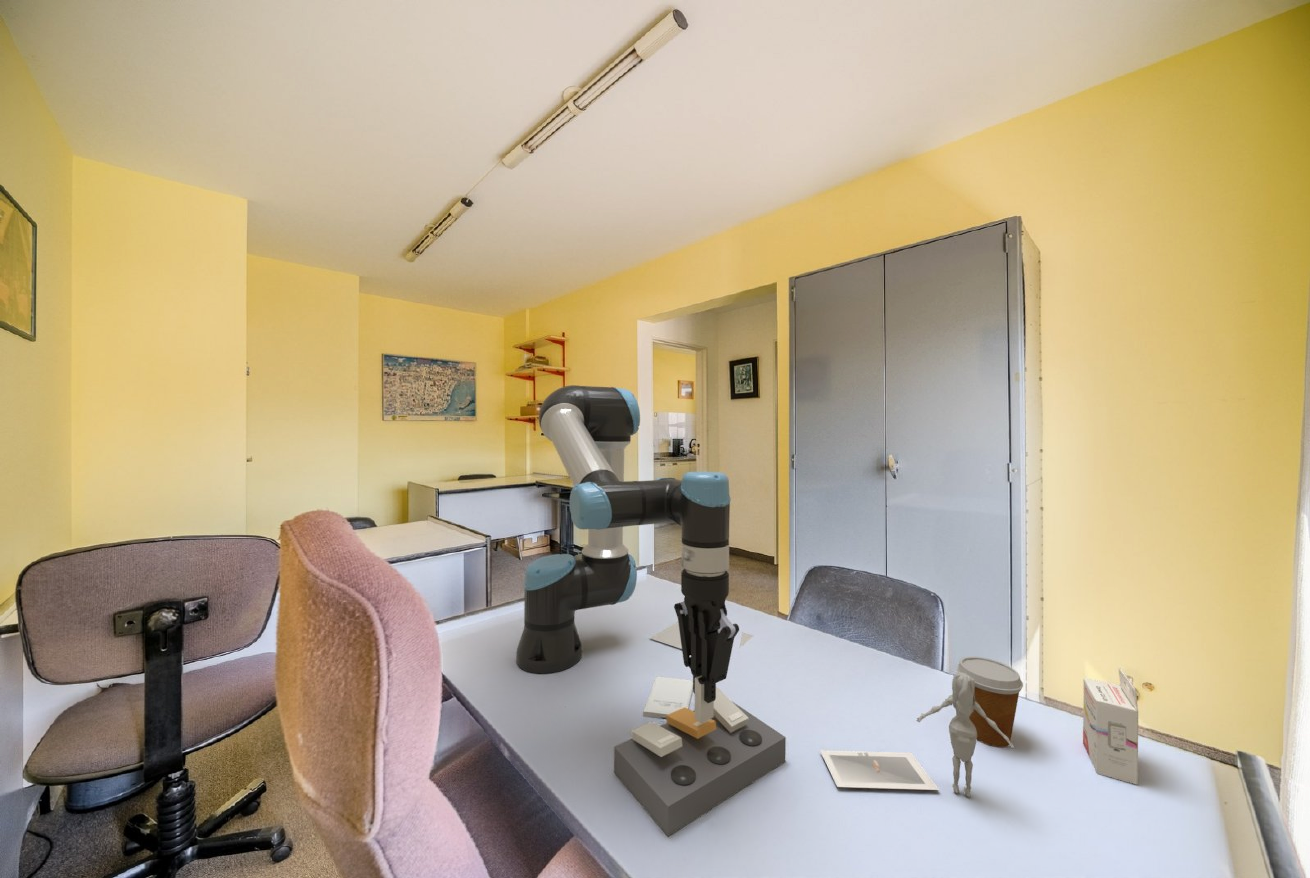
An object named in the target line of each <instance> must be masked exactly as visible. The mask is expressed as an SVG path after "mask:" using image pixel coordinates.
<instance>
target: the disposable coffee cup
mask: <svg viewBox="0 0 1310 878" xmlns="http://www.w3.org/2000/svg"><path fill="white" fill-rule="evenodd" d="M956 671H957V673H958V672H962V673H965V674H967V675H969V676H970V677H971V678H973V679H974V686H975V687H974V695H975V701H976V702H977V703H978V704H979V705H980V707H981V709H982V710H983V711H984V713H985V714H986V717H987V718H989V719H990V720H992V721H994V722H995V723H996V725H997V727H998V729H999V730H1000V731H1001V732H1002V733H1003V734H1004V735H1006V736H1007V737H1008V738H1009V741H1010V742H1011V741H1012V735H1013V734H1012V733H1013V730H1014V729H1013V728H1014V723H1015V717H1016V713H1017V706H1018V701H1019V696H1020V692H1021V690H1022V689H1023V687H1024V682H1023V681H1022V680H1021V677H1020V673H1019V672H1018V671H1017V670H1016V669H1014V668H1013V667H1011V666H1010V665H1007V664H1005V663H1002V662H1000V661H997V660H995V659H994V660H993V659H990V658H988V657H987V658H986V657H981V656H965V657H962V658H960V660H959V663H958V664H957V665H956ZM969 719H970V720H971V722H972V723H973V724H974V726H975V728H976V731H977V734H978V737H977V740H976V741H979V742H980V743H983V744H986V745H988V746H993V747H997V748H1005V747H1008V746H1010V745H1009V743H1008V742H1007V741H1006V740H1005V738H1004V737H1003V736H1002V735H1001V734H999V733H998V732H997V731H996V730H995V729H994V728H993V727H991V726H990V725H989V723H988V722H987V720H986V719H985V718H984V717H982V716H981V715H980V714H979V713H978V712H977V711H976V710H975V709H974V710H973V712H972V713H971V715H970V716H969Z"/></svg>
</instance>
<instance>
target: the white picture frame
mask: <svg viewBox="0 0 1310 878" xmlns="http://www.w3.org/2000/svg"><path fill="white" fill-rule="evenodd" d="M819 751H820V754H821V755H822V757H823V760H824V762H825V764H826V765H827V768H828V770H829V772H830V774H831V777H832V779H833V781H834V784H835V785H836V787H837V788H855V789H856V788H859V789H860V788H861V789H868V788H869V789H886V790H887V789H888V790H889V789H893V790H920V791H921V790H924V791H925V790H926V791H940V789H939V787H938V785H936V783H935V782H934V781H933V779H932V778H931V776H930V775H929V774H928V773H927V771H926V770H925V769H924V768H923V766H922V765H921V764H920V762H919V761H918V760H917V759H916V757H915V756H914V755H913V753H912V752H896V751H895V752H893V751H858V750H857V751H856V750H855V751H853V750H828V749H827V750H821V749H820V750H819Z"/></svg>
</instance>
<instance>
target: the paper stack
mask: <svg viewBox="0 0 1310 878" xmlns="http://www.w3.org/2000/svg"><path fill="white" fill-rule="evenodd" d="M740 637H741V638H740V643H739V649H740V648H742V646H744V645H745V644H746V643H747V642H748V641H750V640H751V639H752V638H753V637H754V635H753V634H749V633H746V632H744V631H743V632H742V633H741V636H740ZM649 639H650V640H653V641H656V642H660V643H663V644H666V645H669V646H672V647H675V648H677V649H679V650H682V645H681V638H680V631H679V623H678V621H676V622H675V623H673V624H671V625H669V626H668V627H666V628H665V629H663V630H661V631H660V632H658V633H656V634H654V635H653V636H651V637H650V638H649Z"/></svg>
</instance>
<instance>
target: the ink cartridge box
mask: <svg viewBox="0 0 1310 878" xmlns="http://www.w3.org/2000/svg"><path fill="white" fill-rule="evenodd" d="M1118 677H1119V678H1118V679H1119V684H1116V683H1111V682H1106V681H1102V680H1097V679H1092V678H1089V677H1083V708H1082V710H1083V712H1082V714H1083V715H1082V717H1083V719H1082V720H1083V722H1082V723H1083V725H1082V744H1083V746H1084V748H1085V751H1086V750H1087V751H1086V753H1087V755H1088V757H1089V760H1090V762H1091V764H1092V766H1093V768H1094V772H1095V774H1097V775H1101V776H1105V777H1108V778H1111V777H1112V778H1111V779H1115V780H1118V779H1119V780H1118V781H1122V782H1126V783H1129V782H1130V783H1129V784H1132V783H1133V785H1137V786H1138V784H1139V783H1138V782H1139V779H1138V778H1139V774H1138V773H1139V707H1138V706H1139V705H1138V699H1137V690H1136V688H1135V687H1134V685H1133V684H1132V682H1131V681H1130V679H1128V676H1126V674H1125V673H1124V672H1123V670H1122V669H1121V668H1120V667H1119V668H1118Z"/></svg>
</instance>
